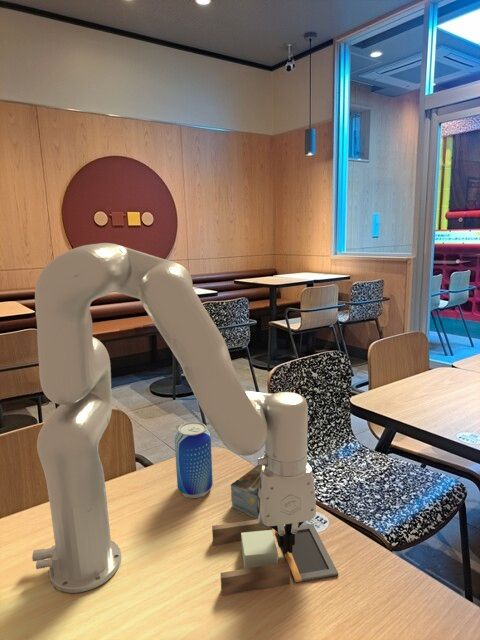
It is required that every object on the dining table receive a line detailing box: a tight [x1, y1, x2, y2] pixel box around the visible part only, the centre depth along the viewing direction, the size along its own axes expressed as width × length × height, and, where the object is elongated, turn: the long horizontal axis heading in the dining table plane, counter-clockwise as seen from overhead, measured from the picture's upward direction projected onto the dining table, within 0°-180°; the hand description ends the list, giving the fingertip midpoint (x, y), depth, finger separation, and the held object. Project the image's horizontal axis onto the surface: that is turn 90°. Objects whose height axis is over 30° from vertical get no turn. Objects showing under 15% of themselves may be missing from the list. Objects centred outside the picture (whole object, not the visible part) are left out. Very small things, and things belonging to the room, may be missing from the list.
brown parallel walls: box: [211, 519, 291, 596], centre depth 81 cm, size 12×13×4 cm
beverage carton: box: [230, 464, 263, 520], centre depth 102 cm, size 8×19×7 cm, turn 141°
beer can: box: [174, 421, 214, 499], centre depth 103 cm, size 8×8×16 cm
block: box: [240, 529, 279, 569], centre depth 82 cm, size 6×6×4 cm
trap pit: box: [275, 523, 339, 584], centre depth 84 cm, size 8×13×1 cm, turn 10°
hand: (285, 548), depth 83 cm, fingers closed
